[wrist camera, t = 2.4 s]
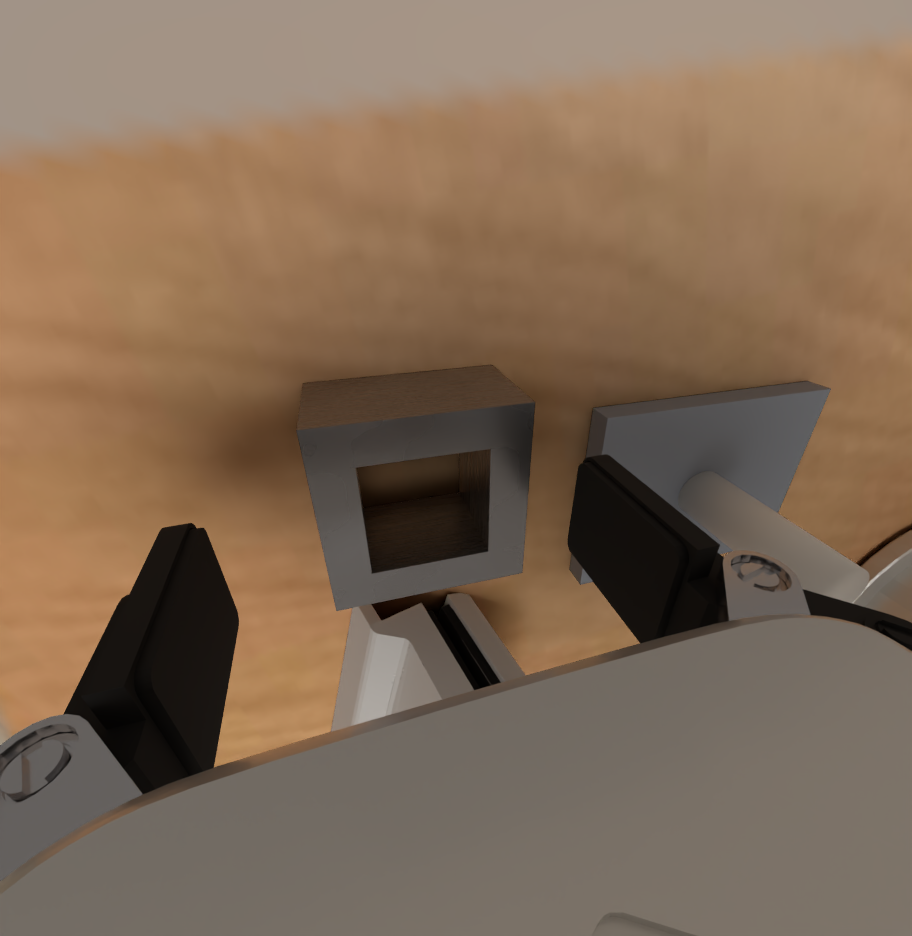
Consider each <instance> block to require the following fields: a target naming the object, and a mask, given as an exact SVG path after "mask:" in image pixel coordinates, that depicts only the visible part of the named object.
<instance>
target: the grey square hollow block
mask: <svg viewBox="0 0 912 936" xmlns="http://www.w3.org/2000/svg"><path fill="white" fill-rule="evenodd" d="M534 410H535V402H534V401H533V400H532V399H531V398H530V397H529V396H527V395H526V394H525V393H524V392H523V391H522V390H521V389H519V388H518V387H517V386H516V385H515V384H514V383H512V382H511V381H510V380H509V379H508V378H507V377H505V376H504V375H503V374H502V373H501V372H500V371H499V370H497V369H496V368H495V367H494V366H493V365H487V366H477V367H466V368H456V369H446V370H436V371H425V372H415V373H405V374H394V375H384V376H374V377H364V378H353V379H343V380H333V381H322V382H312V383H303V387H302V394H301V401H300V408H299V415H298V423H297V430H296V431H297V435H298V440H299V444H300V449H301V453H302V458H303V462H304V467H305V471H306V476H307V480H308V485H309V489H310V494H311V498H312V503H313V507H314V512H315V516H316V521H317V525H318V530H319V534H320V539H321V543H322V548H323V552H324V557H325V561H326V566H327V570H328V575H329V579H330V584H331V588H332V593H333V597H334V602H335V606H336V611H339V610H344V609H349V608H354V607H359V606H364V605H368V604H373V603H378V602H383V601H388V600H393V599H398V598H402V597H407V596H412V595H417V594H422V593H427V592H432V591H437V590H441V589H446V588H451V587H456V586H461V585H466V584H471V583H475V582H480V581H485V580H490V579H495V578H500V577H505V576H510V575H514V574H519V573H522V570H523V556H524V543H525V530H526V516H527V503H528V490H529V477H530V463H531V450H532V437H533V424H534ZM457 453H459V493H453V494H447V495H441V496H435V497H428V498H422V499H416V500H409V501H403V502H397V503H391V504H384V505H378V506H372V507H365V508H363V503H362V496H361V489H360V483H359V476H358V470H357V467H364V466H371V465H378V464H385V463H393V462H400V461H407V460H414V459H421V458H428V457H436V456H443V455H450V454H457Z"/></svg>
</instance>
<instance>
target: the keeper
mask: <svg viewBox="0 0 912 936" xmlns="http://www.w3.org/2000/svg"><path fill="white" fill-rule="evenodd" d="M830 390H831V389H830V388H827V387H824V386H821V385H818V384H815V383H812V382H809V381H805V382H797V383H789V384H781V385H773V386H765V387H757V388H749V389H741V390H733V391H725V392H717V393H709V394H701V395H693V396H685V397H677V398H669V399H661V400H653V401H645V402H637V403H629V404H621V405H613V406H605V407H598V408H593V413H592V419H591V426H590V433H589V440H588V447H587V454H586V458H587V457H592V456H598V455H604V454H608V455H609V456H611V457H612V458H613V459H615V460H616V461H617V462H618V463H620V464H621V465H622V466H623V467H625V468H626V469H627V470H628V471H629V472H631V473H632V474H633V475H634V476H636V477H637V478H638V479H639V480H641V481H642V482H643V483H644V484H646V485H647V486H648V487H649V488H650V489H652V490H653V491H654V492H655V493H657V494H658V495H659V496H660V497H662V498H663V499H664V500H665V501H667V502H668V503H669V504H670V505H672V506H673V507H674V508H675V509H676V510H678V511H679V512H680V513H681V514H683V515H684V516H685V517H686V518H688V519H689V520H690V521H691V522H693V523H694V524H695V525H696V526H698V527H699V528H700V529H701V530H702V531H704V532H705V533H706V534H707V535H709V536H710V537H711V538H712V539H714V540H715V541H716V542H717V543H719V544H720V547H719V550H718V553H719V554H723V553H727V552H732V551H736V550H748V551H755V552H759V553H762V554H765V555H768V556H770V557H773V558H775V559H777V560H779V561H780V562H782V563H783V564H785V565H786V566H788V567H789V568H790V569H791V570H792V571H793V572H794V573H795V574H796V575H797V577H798V579H799V580H800V583H801V586H802V589H804V590H808V591H811V592H815V593H818V594H821V595H825V596H828V597H832V598H835V599H839V600H842V601H846V602H849V603H852V602H854V601H855V600H856V599H857V598H858V597H859V596H860V594H861V593H862V592H863V591H864V589H865V588H866V586H867V584H868V582H869V573H868V571H866V570H865V569H863V568H862V567H860V566H859V565H857V564H856V563H854V562H853V561H851V560H849V559H848V558H846V557H845V556H843V555H842V554H840V553H839V552H837V551H836V550H834V549H832V548H831V547H829V546H828V545H826V544H825V543H823V542H822V541H820V540H819V539H817V538H815V537H814V536H812V535H811V534H809V533H808V532H806V531H805V530H803V529H802V528H800V527H798V526H797V525H795V524H794V523H792V522H791V521H789V520H788V519H786V518H784V517H783V516H781V515H780V514H778V511H779V509H780V507H781V504H782V502H783V500H784V497H785V495H786V493H787V490H788V488H789V486H790V483H791V481H792V479H793V476H794V474H795V472H796V469H797V467H798V465H799V462H800V460H801V458H802V455H803V453H804V451H805V448H806V446H807V444H808V441H809V439H810V437H811V434H812V432H813V430H814V427H815V425H816V423H817V420H818V418H819V416H820V413H821V411H822V409H823V406H824V404H825V402H826V399H827V397H828V395H829V392H830ZM569 570H570V571H571V572H572V574H573V575H574V577H575V578H576V580H577V581H578V582H579V584H580V585H581V584H585V583H590V582H593V581H592V579H591V578H590V577H589V576H588V574H587V573H586V572H585V570H584V569H583V568H582V566H581V565H580V564H579V563H578V561H577V560H576V559H575V557H574V556H573V555H572V556H571V562H570V569H569Z"/></svg>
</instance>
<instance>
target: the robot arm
mask: <svg viewBox="0 0 912 936" xmlns="http://www.w3.org/2000/svg"><path fill="white" fill-rule="evenodd" d="M568 547H569V550H570V552H571V553H572V555H573V556H574V557H575V559H576V560H577V561H578V563H579V564H580V565H581V566H582V568H583V569H584V570H585V572H586V573H587V574H588V576H589V577H590V578H591V579H592V581H593V582H594V583H595V585H596V586H597V587H598V589H599V590H600V591H601V593H602V594H603V595H604V596H605V598H606V599H607V600H608V602H609V603H610V604H611V606H612V607H613V608H614V609H615V611H616V612H617V613H618V615H619V616H620V617H621V619H622V620H623V621H624V622H625V624H626V625H627V626H628V628H629V629H630V630H631V632H632V633H633V634H634V636H635V637H636V638H637V639H638V641H639V642H640V644H637V645H633V646H629V647H626V648H622V649H619V650H615V651H612V652H608V653H604V654H601V655H597V656H594V657H590V658H586V659H583V660H579V661H576V662H572V663H569V664H565V665H561V666H558V667H554V668H551V669H547V670H544V671H540V672H537V673H533V674H530V675H526V676H523V677H519V678H516V679H512V680H509V681H505V682H502V683H498V684H495V685H491V686H488V687H484V688H481V689H477V690H474V691H470V692H467V693H463V694H460V695H456V696H453V697H449V698H446V699H442V700H439V701H435V702H432V703H428V704H425V705H422V706H418V707H415V708H411V709H408V710H404V711H401V712H397V713H394V714H391V715H387V716H384V717H380V718H377V719H373V720H370V721H367V722H363V723H360V724H356V725H353V726H349V727H346V728H343V729H339V730H336V731H332V732H329V733H325V734H322V735H318V736H315V737H312V738H308V739H305V740H302V741H298V742H295V743H292V744H289V745H285V746H282V747H279V748H276V749H272V750H269V751H266V752H263V753H259V754H256V755H253V756H250V757H246V758H243V759H240V760H237V761H234V762H230V763H227V764H224V765H221V766H217V767H215V768H214V763H215V757H216V751H217V746H218V740H219V734H220V729H221V723H222V717H223V712H224V706H225V700H226V695H227V689H228V683H229V678H230V672H231V666H232V661H233V655H234V649H235V644H236V638H237V632H238V626H239V618H238V612H237V609H236V606H235V604H234V601H233V599H232V596H231V594H230V591H229V588H228V586H227V583H226V581H225V578H224V576H223V573H222V571H221V568H220V565H219V563H218V560H217V558H216V555H215V553H214V550H213V548H212V545H211V542H210V540H209V537H208V535H207V532H206V530H205V529H204V528H198V529H197V528H196V527H195V525H194V524H192V523H189V524H183V525H177V526H171V527H164V528H162V529H161V530H160V532H159V534H158V536H157V538H156V540H155V542H154V544H153V546H152V549H151V551H150V553H149V555H148V557H147V559H146V561H145V563H144V565H143V567H142V569H141V572H140V574H139V576H138V578H137V580H136V582H135V584H134V586H133V588H132V590H131V592H130V595H126V596H125V597H123V598H122V599H121V601H120V602H119V604H118V605H117V607H116V609H115V611H114V613H113V615H112V617H111V619H110V621H109V623H108V625H107V627H106V629H105V632H104V634H103V636H102V638H101V640H100V642H99V644H98V646H97V648H96V650H95V652H94V654H93V656H92V658H91V660H90V662H89V664H88V666H87V668H86V670H85V672H84V674H83V676H82V678H81V680H80V682H79V684H78V686H77V688H76V690H75V692H74V694H73V696H72V698H71V700H70V702H69V704H68V706H67V708H66V710H65V712H64V714H63V715H58V716H53V717H49V718H47V719H44V720H42V721H39V722H36V723H34V724H32V725H30V726H28V727H27V728H25V729H23V730H21V731H20V732H18V733H16V734H15V735H13V736H12V737H11V738H9V739H8V740H7V741H5V742H4V743H3V744H2V745H0V936H912V529H911V530H910V531H908V532H906V533H904V534H903V535H901V536H900V537H898V538H896V539H895V540H893V541H892V542H890V543H889V544H887V545H886V546H885V547H883V548H882V549H881V550H879V551H878V552H877V553H875V554H874V555H873V556H871V557H870V558H869V559H868V560H867V561H866V562H865V563H864V564H863V565H861V566H860V567H862V568H863V569H865V570H866V571H868V573H869V582H868V584H867V586H866V588H865V589H864V591H863V592H862V593H861V594H860V596H859V597H858V598H857V599H856V600H855V601H854V602H852V603H849V602H846V601H842V600H839V599H835V598H832V597H828V596H825V595H821V594H818V593H815V592H811V591H808V590H804V589H802V586H801V583H800V580H799V579H798V577H797V575H796V574H795V573H794V572H793V571H792V570H791V569H790V568H789V567H788V566H786V565H785V564H783V563H782V562H780V561H779V560H777V559H775V558H773V557H770V556H768V555H765V554H762V553H759V552H755V551H748V550H736V551H733V552H730V553H728V554H727V555H726V556H725V557H722V556H721V555H720V554H719V553H718V550H719V547H720V544H719V543H717V542H716V541H715V540H714V539H712V538H711V537H710V536H709V535H707V534H706V533H705V532H704V531H702V530H701V529H700V528H699V527H698V526H696V525H695V524H694V523H693V522H691V521H690V520H689V519H688V518H686V517H685V516H684V515H683V514H681V513H680V512H679V511H678V510H676V509H675V508H674V507H673V506H672V505H670V504H669V503H668V502H667V501H665V500H664V499H663V498H662V497H660V496H659V495H658V494H657V493H655V492H654V491H653V490H652V489H650V488H649V487H648V486H647V485H646V484H644V483H643V482H642V481H641V480H639V479H638V478H637V477H636V476H634V475H633V474H632V473H631V472H629V471H628V470H627V469H626V468H625V467H623V466H622V465H621V464H620V463H618V462H617V461H616V460H615V459H613V458H612V457H611V456H609V455H608V454H604V455H598V456H592V457H587V458H585V460H584V461H583V463H582V464H580V465H579V467H578V473H577V480H576V487H575V493H574V500H573V507H572V514H571V521H570V527H569V534H568Z"/></svg>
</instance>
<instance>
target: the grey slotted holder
mask: <svg viewBox="0 0 912 936" xmlns="http://www.w3.org/2000/svg"><path fill="white" fill-rule="evenodd" d="M523 676H526V675H525V674H524V672H523V671H522V670H521V668H520V667H519V665H518V664H517V662H516V661H515V660H514V658H513V657H512V655H511V654H510V652H509V651H508V650H507V648H506V647H505V645H504V644H503V642H502V641H501V640H500V638H499V637H498V635H497V634H496V632H495V631H494V630H493V628H492V627H491V625H490V624H489V622H488V621H487V620H486V618H485V617H484V615H483V614H482V612H481V611H480V610H479V608H478V607H477V605H476V604H475V602H474V601H473V600H472V598H471V597H470V595H468V594H463V593H455V594H448V595H447V597H446V600H445V603H444V606H442V607H441V609H440V612H439V616H438V619H437V617H436V615H435V614H434V612H433V611H432V610H430V611H426V609H425V608H424V606H423V604H422V603H419V604H417V605H415V606H413V607H411V608H408V609H406V610H404V611H402V612H400V613H397V614H395V615H393V616H391V617H389V618H386V619H384V620H381V619H380V618H379V616H378V614H377V613H376V611H375V610H374V608H373V606H372V605H371V604H368V605H364V606H359V607H354V608H352V614H351V620H350V625H349V631H348V637H347V643H346V648H345V654H344V660H343V666H342V671H341V677H340V683H339V689H338V694H337V700H336V706H335V712H334V717H333V723H332V729H331V732H332V731H336V730H339V729H343V728H346V727H349V726H353V725H356V724H360V723H363V722H367V721H370V720H373V719H377V718H380V717H384V716H387V715H391V714H394V713H397V712H401V711H404V710H408V709H411V708H415V707H418V706H422V705H425V704H428V703H432V702H435V701H439V700H442V699H446V698H449V697H453V696H456V695H460V694H463V693H467V692H470V691H474V690H477V689H481V688H484V687H488V686H491V685H495V684H498V683H502V682H505V681H509V680H512V679H516V678H519V677H523Z"/></svg>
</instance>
